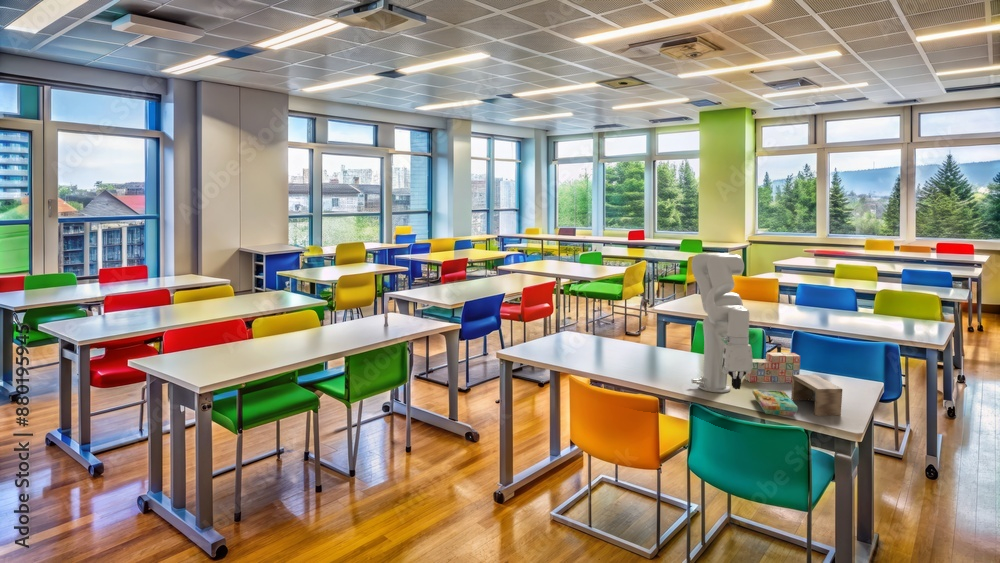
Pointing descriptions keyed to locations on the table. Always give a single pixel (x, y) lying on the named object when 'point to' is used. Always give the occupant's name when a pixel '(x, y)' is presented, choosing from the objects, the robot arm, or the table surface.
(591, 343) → the table surface
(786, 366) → the stack of blocks
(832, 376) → the table surface
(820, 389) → the low shelf
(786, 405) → the puzzle game
